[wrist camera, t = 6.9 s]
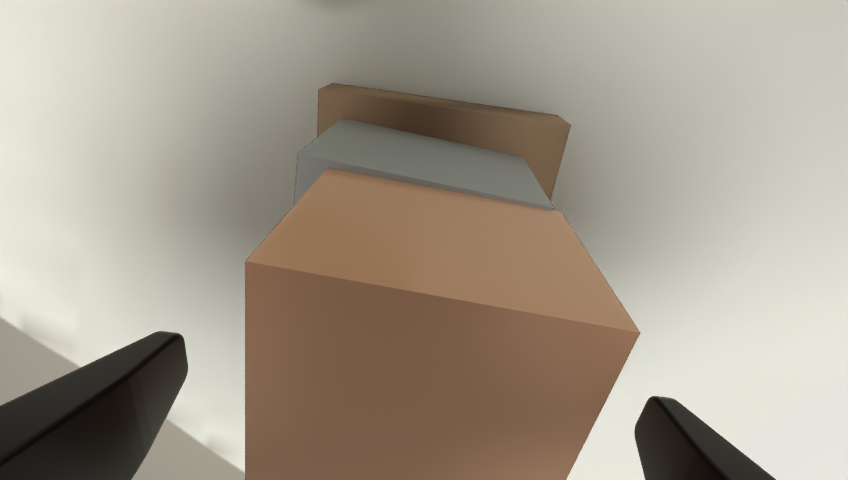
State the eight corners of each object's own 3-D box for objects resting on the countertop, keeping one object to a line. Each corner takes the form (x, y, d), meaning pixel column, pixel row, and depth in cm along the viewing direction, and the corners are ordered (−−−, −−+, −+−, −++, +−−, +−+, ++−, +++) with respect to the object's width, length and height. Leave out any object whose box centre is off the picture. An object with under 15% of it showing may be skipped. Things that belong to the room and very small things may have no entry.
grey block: (522, 157, 14) (553, 207, 10) (476, 306, 17) (485, 394, 13) (341, 117, 14) (297, 153, 10) (323, 275, 16) (282, 355, 12)
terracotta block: (561, 211, 10) (639, 332, 6) (500, 385, 12) (527, 556, 8) (328, 167, 10) (245, 260, 6) (311, 352, 12) (245, 510, 8)
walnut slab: (552, 112, 16) (570, 125, 14) (506, 294, 19) (514, 328, 17) (336, 81, 16) (318, 89, 13) (329, 270, 19) (313, 301, 17)
